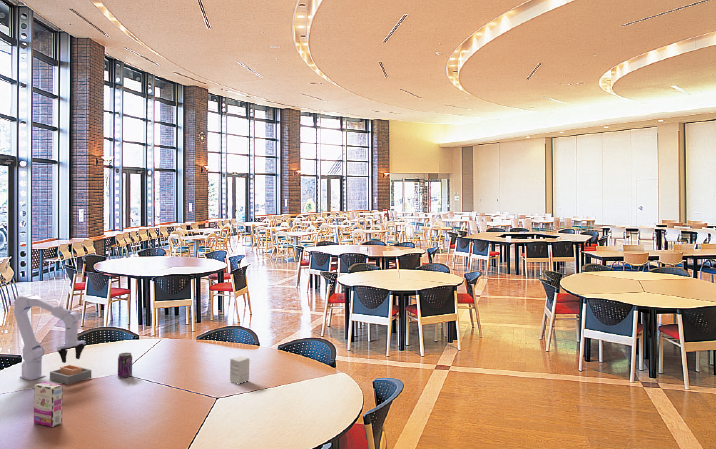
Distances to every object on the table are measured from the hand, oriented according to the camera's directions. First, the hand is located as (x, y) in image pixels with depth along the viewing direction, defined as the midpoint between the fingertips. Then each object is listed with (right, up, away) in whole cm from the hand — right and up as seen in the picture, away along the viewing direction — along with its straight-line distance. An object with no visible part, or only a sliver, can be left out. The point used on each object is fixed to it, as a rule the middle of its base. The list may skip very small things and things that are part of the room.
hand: (70, 360), depth 270 cm
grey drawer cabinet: (+89, -12, +2) cm, 90 cm away
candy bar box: (+22, -12, -56) cm, 61 cm away
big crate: (0, -9, 0) cm, 9 cm away
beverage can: (+26, -10, +6) cm, 28 cm away
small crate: (0, -9, 0) cm, 9 cm away
